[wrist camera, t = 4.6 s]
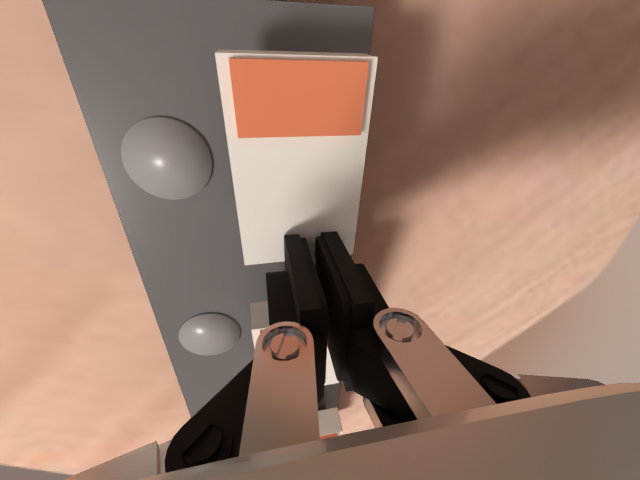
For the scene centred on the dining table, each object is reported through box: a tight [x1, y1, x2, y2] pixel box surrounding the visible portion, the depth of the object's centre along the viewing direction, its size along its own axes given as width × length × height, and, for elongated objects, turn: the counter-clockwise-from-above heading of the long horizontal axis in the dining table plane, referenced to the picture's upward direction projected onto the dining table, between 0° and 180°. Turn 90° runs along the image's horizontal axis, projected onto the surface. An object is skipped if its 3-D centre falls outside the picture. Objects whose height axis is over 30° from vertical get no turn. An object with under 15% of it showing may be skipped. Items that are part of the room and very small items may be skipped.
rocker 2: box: [318, 407, 343, 440], centre depth 18 cm, size 6×4×1 cm, turn 179°
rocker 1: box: [215, 49, 378, 265], centre depth 10 cm, size 6×4×1 cm, turn 179°
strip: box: [42, 0, 374, 418], centre depth 16 cm, size 26×9×3 cm, turn 179°
